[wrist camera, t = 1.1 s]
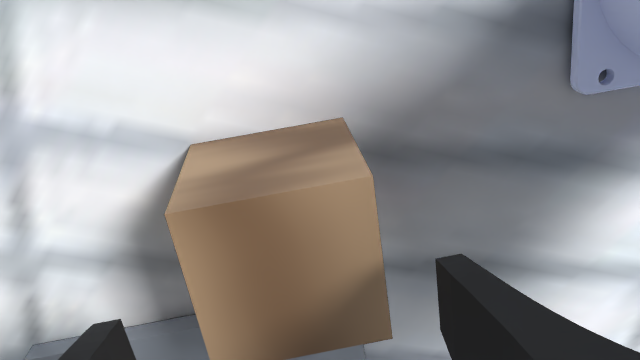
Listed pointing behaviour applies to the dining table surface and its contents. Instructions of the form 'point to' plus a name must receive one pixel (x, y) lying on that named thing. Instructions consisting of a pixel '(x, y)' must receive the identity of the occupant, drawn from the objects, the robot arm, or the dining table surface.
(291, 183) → the tan cube
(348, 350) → the slate coaster
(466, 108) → the dining table surface
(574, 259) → the dining table surface
